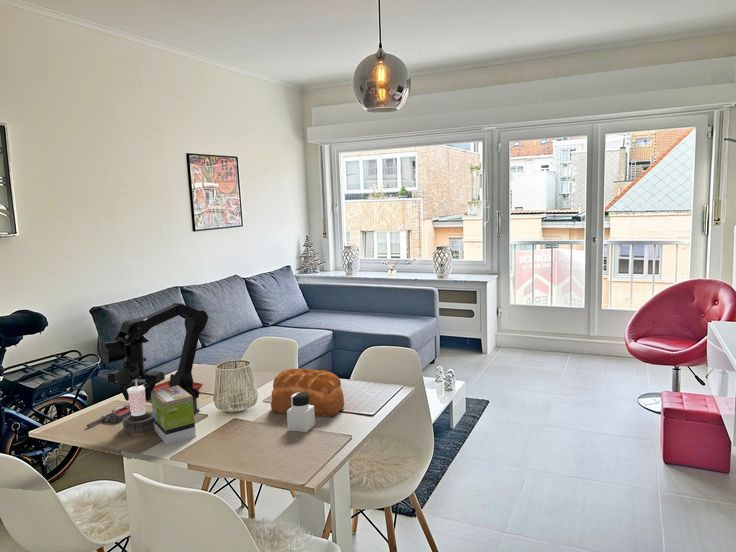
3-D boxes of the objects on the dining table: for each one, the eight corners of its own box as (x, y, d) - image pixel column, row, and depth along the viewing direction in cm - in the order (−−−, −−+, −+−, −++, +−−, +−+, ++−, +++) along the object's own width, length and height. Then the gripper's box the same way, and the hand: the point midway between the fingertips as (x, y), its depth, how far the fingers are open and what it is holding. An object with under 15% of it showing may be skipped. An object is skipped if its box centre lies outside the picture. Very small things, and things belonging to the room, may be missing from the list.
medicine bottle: (315, 425, 196) (313, 391, 195) (306, 432, 190) (304, 398, 188) (296, 423, 199) (295, 389, 197) (287, 430, 192) (285, 396, 190)
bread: (333, 419, 201) (331, 377, 199) (267, 413, 210) (264, 372, 208) (347, 406, 214) (345, 366, 212) (284, 400, 223) (282, 362, 221)
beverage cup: (126, 417, 193) (123, 377, 192) (132, 410, 199) (129, 372, 198) (144, 416, 194) (142, 376, 192) (149, 410, 200) (147, 371, 198)
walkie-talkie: (125, 410, 219) (84, 429, 200) (124, 398, 218) (83, 417, 199) (144, 411, 216) (105, 431, 197) (143, 400, 216) (103, 419, 197)
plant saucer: (170, 404, 223) (169, 396, 223) (139, 398, 232) (139, 390, 232) (204, 391, 239) (204, 383, 238) (174, 385, 248) (174, 378, 247)
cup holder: (162, 424, 201) (161, 412, 201) (145, 436, 191) (144, 423, 190) (135, 423, 203) (134, 411, 203) (117, 435, 193) (116, 422, 192)
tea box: (153, 432, 195) (149, 390, 193) (182, 424, 201) (179, 384, 199) (166, 445, 183) (162, 401, 181) (196, 437, 189) (193, 394, 187)
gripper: (94, 362, 188) (98, 407, 190) (145, 364, 185) (148, 410, 186) (115, 353, 199) (118, 396, 201) (164, 355, 195) (166, 399, 197)
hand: (137, 400), depth 196 cm, fingers closed on beverage cup, 7 cm apart
